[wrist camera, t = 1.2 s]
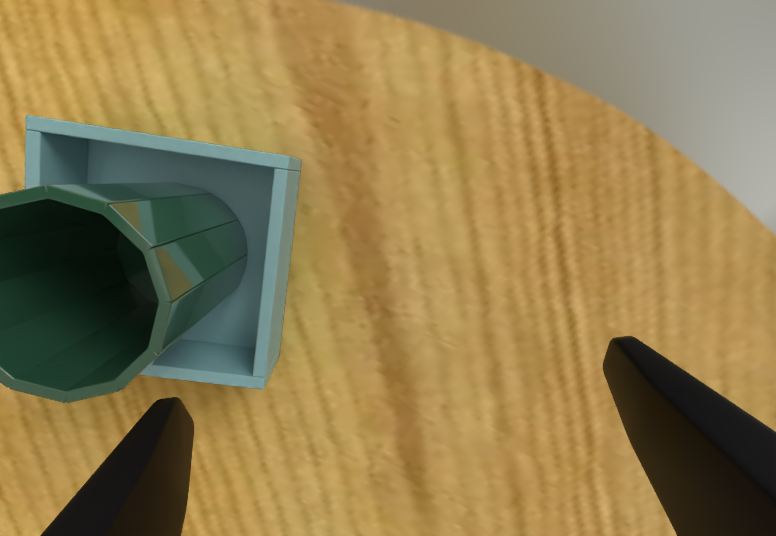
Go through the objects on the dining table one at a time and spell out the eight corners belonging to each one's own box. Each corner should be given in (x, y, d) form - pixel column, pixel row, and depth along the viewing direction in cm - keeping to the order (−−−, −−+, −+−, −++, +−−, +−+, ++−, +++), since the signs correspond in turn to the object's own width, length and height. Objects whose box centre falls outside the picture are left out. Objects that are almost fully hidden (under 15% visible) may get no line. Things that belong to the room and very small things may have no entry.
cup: (185, 336, 25) (68, 440, 15) (88, 246, 24) (-108, 293, 14) (274, 252, 24) (213, 303, 14) (179, 156, 23) (42, 139, 13)
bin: (278, 357, 26) (263, 390, 22) (76, 332, 25) (22, 361, 21) (302, 159, 24) (289, 155, 20) (82, 125, 23) (24, 114, 19)
